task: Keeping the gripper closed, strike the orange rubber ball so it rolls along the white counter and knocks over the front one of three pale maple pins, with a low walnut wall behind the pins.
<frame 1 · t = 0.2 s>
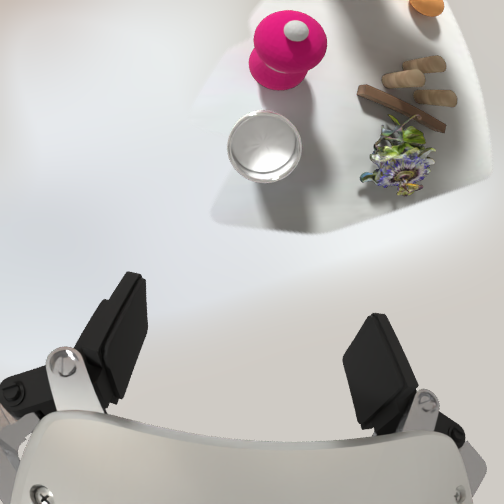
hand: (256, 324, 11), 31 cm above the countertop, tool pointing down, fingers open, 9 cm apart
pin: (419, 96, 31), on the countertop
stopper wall: (400, 108, 32), on the countertop
ball: (426, 0, 19), on the countertop
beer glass: (260, 134, 36), on the countertop
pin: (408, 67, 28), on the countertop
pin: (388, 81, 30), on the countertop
pepper mill: (275, 69, 31), on the countertop
passion flower: (386, 148, 36), on the countertop
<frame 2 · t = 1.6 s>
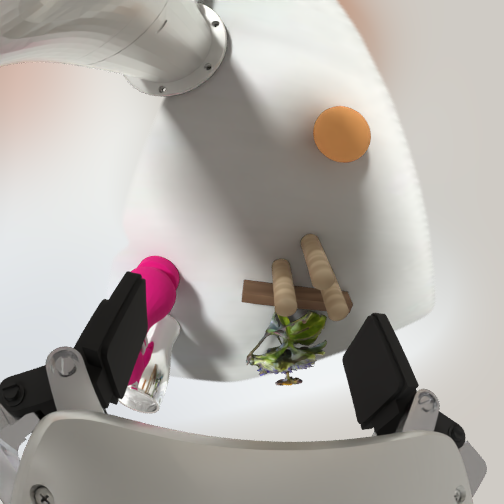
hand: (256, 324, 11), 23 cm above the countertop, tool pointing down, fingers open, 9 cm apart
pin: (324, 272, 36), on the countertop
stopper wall: (297, 290, 37), on the countertop
ball: (342, 134, 25), on the countertop
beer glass: (163, 324, 42), on the countertop
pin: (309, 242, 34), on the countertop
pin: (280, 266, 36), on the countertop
pepper mill: (159, 273, 37), on the countertop
passion flower: (283, 325, 41), on the countertop
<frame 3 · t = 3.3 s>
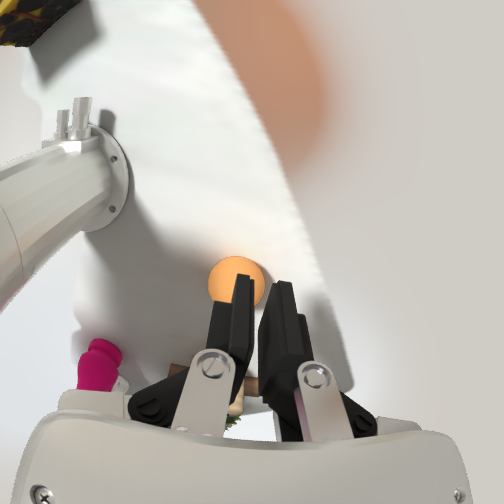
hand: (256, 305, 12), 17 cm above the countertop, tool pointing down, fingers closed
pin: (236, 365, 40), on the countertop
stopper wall: (215, 374, 41), on the countertop
ball: (236, 284, 29), on the countertop
dark textured cube: (51, 1, 13), on the countertop
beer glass: (116, 379, 45), on the countertop
pepper mill: (107, 349, 40), on the countertop
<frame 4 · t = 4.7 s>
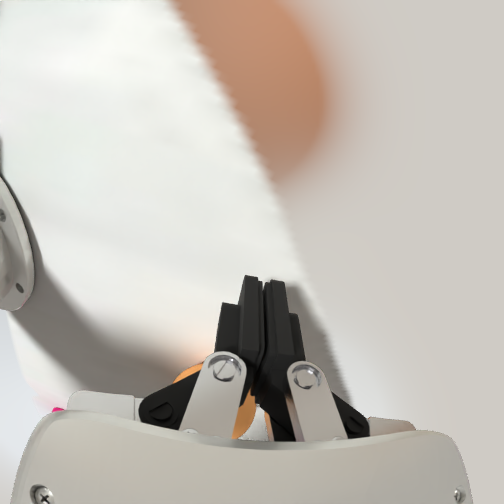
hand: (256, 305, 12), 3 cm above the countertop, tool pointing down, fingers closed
ball: (211, 404, 16), on the countertop
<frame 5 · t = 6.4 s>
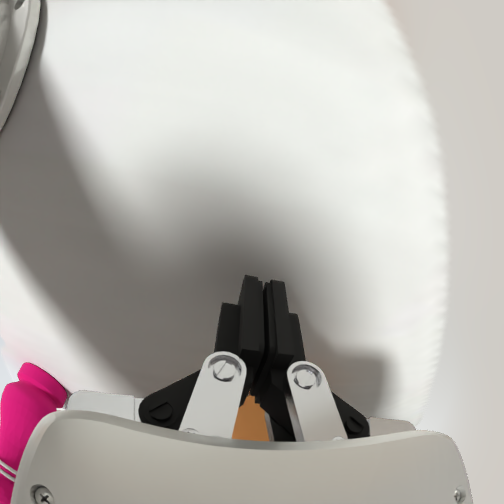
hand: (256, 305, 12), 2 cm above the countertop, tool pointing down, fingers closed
ball: (276, 427, 15), on the countertop
pepper mill: (45, 379, 20), on the countertop
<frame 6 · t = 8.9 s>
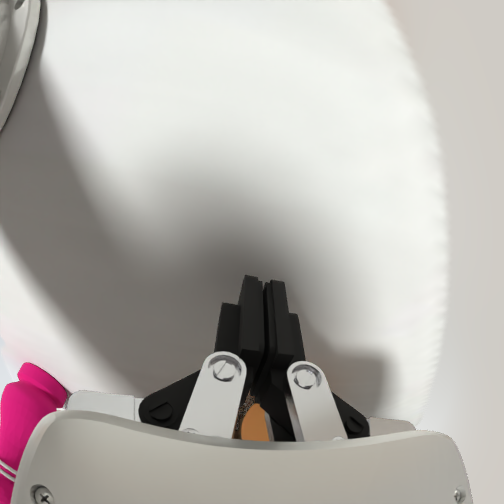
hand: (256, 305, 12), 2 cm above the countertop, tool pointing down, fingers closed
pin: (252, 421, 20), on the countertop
ball: (284, 430, 16), on the countertop
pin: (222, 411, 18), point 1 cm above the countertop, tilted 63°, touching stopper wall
pepper mill: (45, 379, 20), on the countertop
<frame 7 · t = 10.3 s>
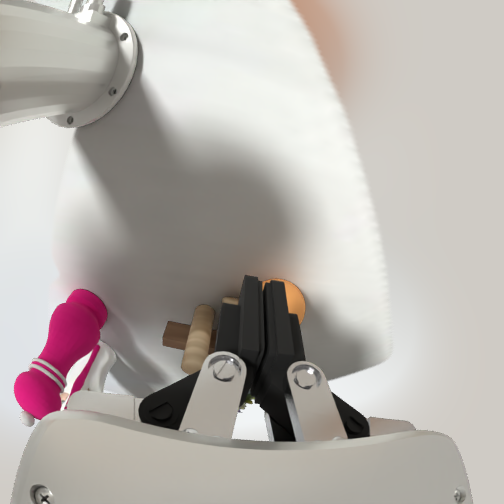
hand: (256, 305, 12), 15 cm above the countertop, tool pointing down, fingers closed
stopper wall: (225, 335, 34), on the countertop
ball: (275, 307, 27), on the countertop
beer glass: (100, 349, 37), on the countertop
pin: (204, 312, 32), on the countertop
pepper mill: (89, 305, 32), on the countertop
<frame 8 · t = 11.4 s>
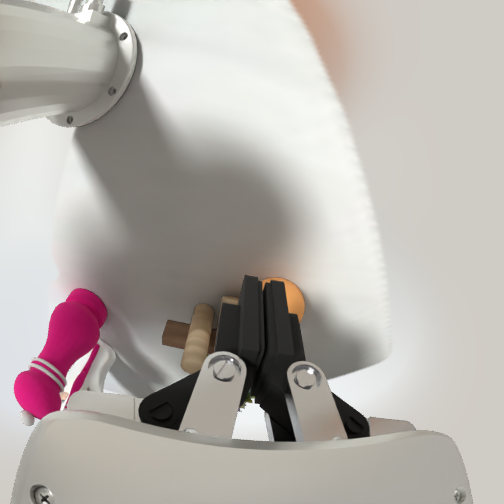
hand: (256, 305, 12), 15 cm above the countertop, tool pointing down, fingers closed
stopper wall: (224, 334, 34), on the countertop
ball: (275, 306, 27), on the countertop
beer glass: (100, 349, 37), on the countertop
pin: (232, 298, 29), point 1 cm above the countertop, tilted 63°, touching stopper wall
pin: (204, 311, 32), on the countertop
pepper mill: (89, 304, 32), on the countertop
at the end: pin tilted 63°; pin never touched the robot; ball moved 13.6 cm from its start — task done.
